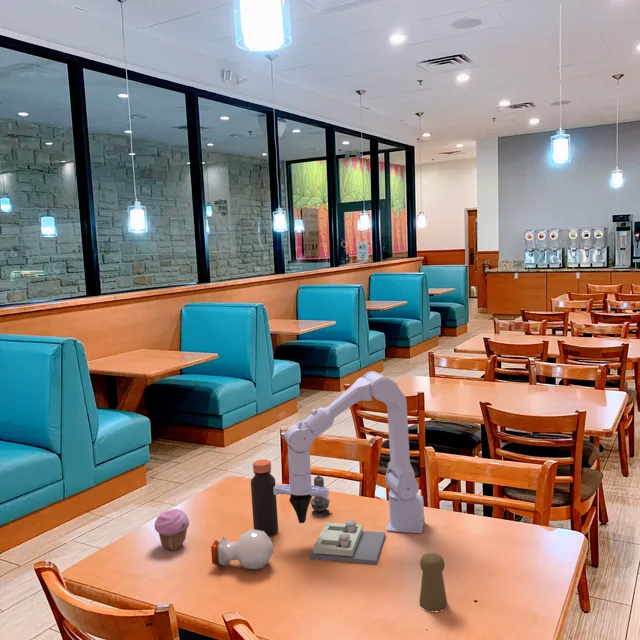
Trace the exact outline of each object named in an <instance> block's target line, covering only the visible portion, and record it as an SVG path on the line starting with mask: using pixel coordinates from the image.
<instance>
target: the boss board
mask: <svg viewBox="0 0 640 640" xmlns="http://www.w3.org/2000/svg"><path fill="white" fill-rule="evenodd" d="M345 524H346V526H348V531H346V532H345V533H356V532H355V528H354V526H356V525H357V521H356V520H354V519H348V520H345ZM385 538H386V532H384V531H383V532H381V531H373V530H372V531H370V530H363V531H362V534H361V536H360V539H359V541H358V544H357V546H356V548H355V551H354V553H353V556H342V555H329V554H317V553H313V548H312V549H311V551H310V553H309V555H308V557H309V558H308V559H310V560H319V561H320V560H321V561H330V560H331V561H333V562H342V561H343V562H344V563H345V562H346V563H356V564H357V563H358V564H367V565H368V564H369V565H377V562H378V559H379V557H380V553H381V550H382V547H383V545H384V541H385ZM349 539H350V535H349V534H341V535H339V540H341V545H339V547H342V548H349V547H350V546H348V540H349ZM343 562H342V563H343Z"/></svg>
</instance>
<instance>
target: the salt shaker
mask: <svg viewBox="0 0 640 640" xmlns="http://www.w3.org/2000/svg"><path fill="white" fill-rule="evenodd" d="M313 485H314V486H318V487H323V488H326V487H325V479H324V477H322V476H320V473H318V474H317V476H315V477H314V479H313ZM330 502H331V500H330V499H329V498H328V497H327V498H323V497H319V496H313V498H311V501H310V503H309V505H311V508H312V509H313V510H312V511H311V515H312V517H313V516H314V517H318V518H321V517H322V518H323V517H326V516H328V515H329V514H330V511H329V509H328V508H329V505H330Z"/></svg>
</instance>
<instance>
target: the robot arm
mask: <svg viewBox="0 0 640 640" xmlns="http://www.w3.org/2000/svg"><path fill="white" fill-rule="evenodd" d="M372 397H374V399H375V400H377V401H380V402H382V403H383V404H385V405H386V408H387V425H388V441H389V443H388V444H389V445H388V446H389V457H390V459H389V462H388V463H387V471H386V473H385V476H384V477H385V478H384V480H385V484H386V485H387V486H388V487H389V492H388V507H389V509H388V510H389V522H388V524H387V527H386V531H387V532H397V533H398V532H399V533H408V534H409V533H411V534H422V533H423V529H424V524H425V508H424V506H425V504H424V502H425V501H424V496H423V495H418V493H419V483H418V481H417V479H416V476H415V471H414V468H413V466H412V464H411V460H410V441H409V440H410V439H409V425H408V419H409V418H408V403H407V397H406V396H405V394H404V392H402V390H401V389H400V388H399V386H398V384H397V383H396V382H395V381H393V380H392V379H390V377H386V376H384V375H383V374H381V373H380V372H377V371H375V370H374V371H373V370H371V371H367V372H366V373H365V374H364V375H363V376H361V377H359V378H357V379H356V381H355V382H354V383H352V385H351V386H350V387H349V388H347V389H346V390H345V391H344V392H343V393H342V394H341V395H339V396H338V397H337V398H336V399H335V400H333V401H332V402H331V403H330V404H329V405H328V406H326V407H321V406H320V407H318V408H317V409H316V408H313V409H312V410H311V414H310V415H308V416H306V417H305V418H304V419H303V420H302V421H300V420H299V421H298V422H297V423H296V425H292V426H290V427H288V429H287V430H286V433H285V435H284V440H285V442H286V443H287V444H288V446H287V452H288V454H287V462H288V476H289V477H288V478H289V479H288V482H289V484H275V485H276V486H275V487H274V488H273V489H274V495H276V496H277V495H290V497H289V503H290V505H292V507H293V510H294V511H295V513H296V516H297V521H298V523H299V524H305V522H306V520H307V515H308V514H307V513H308V510H309V505H310V501H311V500H312V499H313V497H314V496H319V497H323V498H328V497H329V494H330V492H329V487H325V488H323V487H318V486H314V484H312V471H311V454H310V448H311V446H312V443H313V441H314V440H316V439H317V438H318V437H319V436H321V435H322V434H323V433H324V432H326V431H327V430H328V429H329V428H331V427H332V426H333V425H334V421H335V418H336V417H337V416H339V415H340V414H342V413H343V412H345V411H346V410H348V409H349V408H351V407H352V406H353V405H355V404H356V403H357V402H359V401H361V402H362V401H363V402H365V401H366V402H370V401H371V402H372V401H373V398H372Z"/></svg>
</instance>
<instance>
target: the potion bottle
mask: <svg viewBox="0 0 640 640" xmlns="http://www.w3.org/2000/svg"><path fill="white" fill-rule="evenodd" d="M210 550H211V551H210V552H211V563H212V565H215V566H219V565H222V566H224V567H227V566H228V564H230V562H231V561H238V563H240V565H241V566H242V567H243V568H244V569H247V570H253V571H257V570H259V569H263V568H264V567H265V566H266V565H268V563H269V562H270V561H271V558H272V556H273V554H274V545H273V540H272V538H271V536H268V535H267V534H266V533H265V532H264V531H261V530H256V529H254V528H251V529H249V530H247V531H245V532H243V533H241V534H240V536H239V538H238V540H236V541H229V540H228V539H226V538H225V537H224V536H223V537H222V539H221V541H220V542H219V541H218V540H217V539H215V540H214V542H213V544H212V545H211V546H210Z"/></svg>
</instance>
